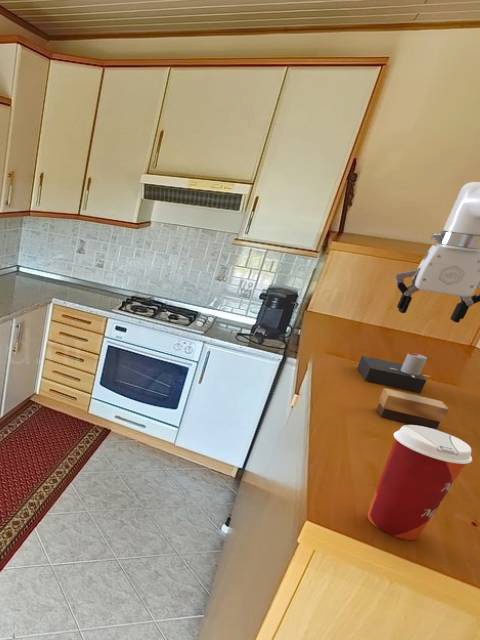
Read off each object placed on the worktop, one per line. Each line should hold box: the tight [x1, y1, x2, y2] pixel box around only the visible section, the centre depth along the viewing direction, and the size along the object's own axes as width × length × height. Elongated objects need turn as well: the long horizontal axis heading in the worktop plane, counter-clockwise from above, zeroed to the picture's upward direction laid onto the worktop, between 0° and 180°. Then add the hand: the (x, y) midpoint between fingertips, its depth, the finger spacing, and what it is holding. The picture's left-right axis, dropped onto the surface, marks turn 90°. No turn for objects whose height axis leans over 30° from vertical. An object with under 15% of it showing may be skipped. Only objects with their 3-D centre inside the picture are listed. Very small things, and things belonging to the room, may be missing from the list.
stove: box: [356, 355, 431, 394], centre depth 123 cm, size 12×11×4 cm
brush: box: [376, 387, 450, 430], centre depth 100 cm, size 10×4×5 cm, turn 61°
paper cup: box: [367, 424, 473, 541], centre depth 65 cm, size 8×8×14 cm
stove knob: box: [401, 352, 428, 375], centre depth 119 cm, size 4×4×5 cm
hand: (427, 316), depth 113 cm, fingers open, 9 cm apart
